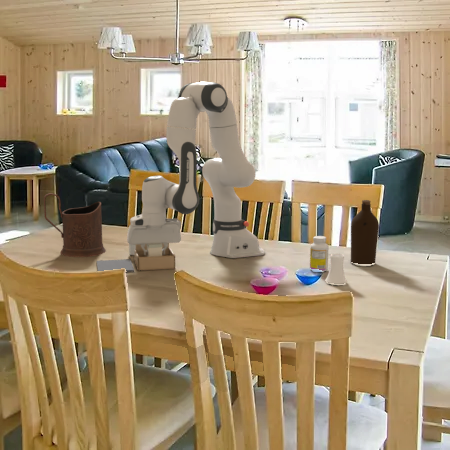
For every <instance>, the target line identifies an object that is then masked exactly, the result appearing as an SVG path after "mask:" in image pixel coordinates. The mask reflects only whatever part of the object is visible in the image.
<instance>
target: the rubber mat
mask: <svg viewBox="0 0 450 450" xmlns="http://www.w3.org/2000/svg"><path fill="white" fill-rule="evenodd" d="M121 268H125V269H126V271H127V272H126V273H135V268H134V265H133V263H132V259H131V258H127V259H125V258H124V259H106V260H105V259H104V260H96V269H97V272H98V271H104V270H113V269H121Z"/></svg>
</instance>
